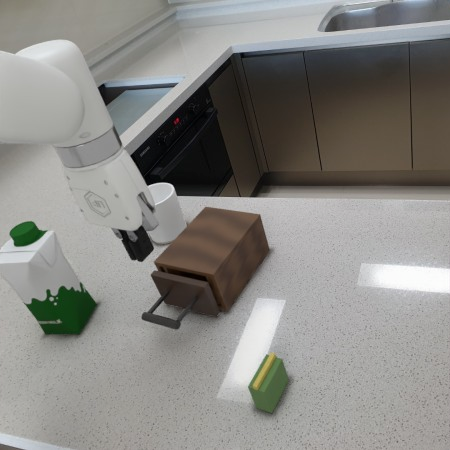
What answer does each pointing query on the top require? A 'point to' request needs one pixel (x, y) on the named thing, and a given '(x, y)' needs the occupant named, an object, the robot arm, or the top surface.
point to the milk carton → (45, 280)
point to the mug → (166, 213)
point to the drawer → (182, 296)
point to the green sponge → (268, 383)
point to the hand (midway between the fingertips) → (143, 254)
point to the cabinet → (219, 250)
